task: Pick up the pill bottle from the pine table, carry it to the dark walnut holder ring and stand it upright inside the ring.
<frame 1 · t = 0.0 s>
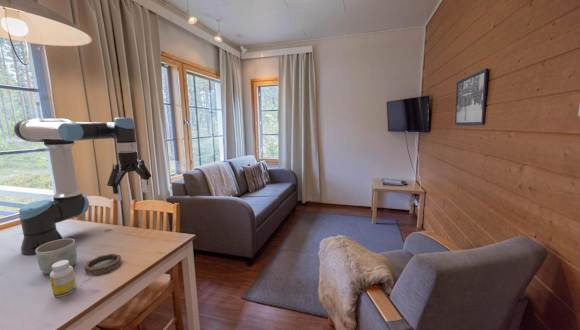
hand: (132, 196, 116), 28 cm above the table, fingers open, 13 cm apart
holder: (103, 266, 107), on the table
planter: (60, 268, 106), on the table
pill bottle: (65, 292, 92), on the table
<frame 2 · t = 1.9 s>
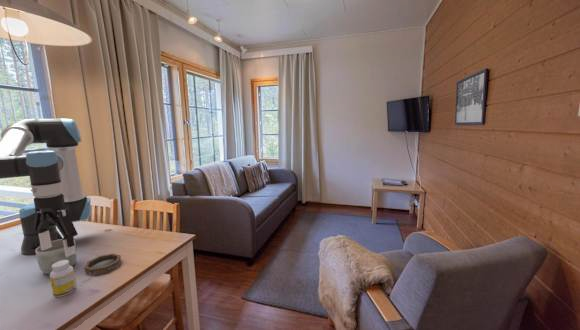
hand: (58, 251, 89), 16 cm above the table, fingers open, 13 cm apart
nothing on the table moved.
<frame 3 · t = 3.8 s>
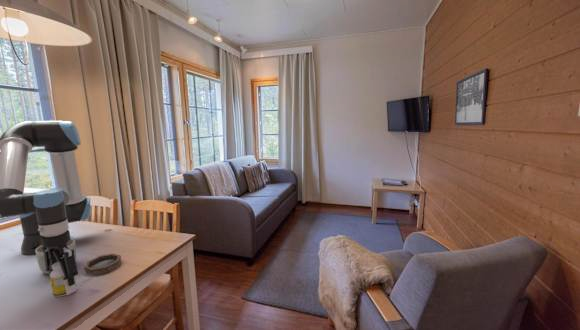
hand: (65, 290, 92), 0 cm above the table, fingers closed on pill bottle, 6 cm apart
pill bottle: (65, 292, 92), on the table, touching gripper
everything else where it was.
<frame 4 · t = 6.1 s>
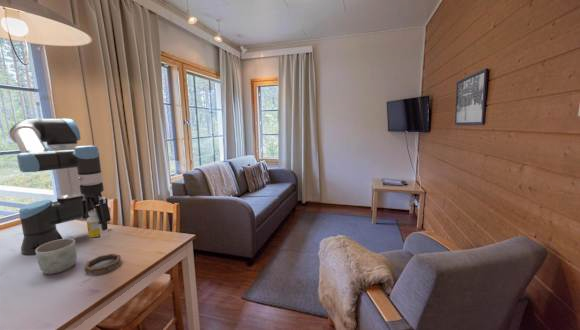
hand: (98, 235, 105), 15 cm above the table, fingers closed on pill bottle, 6 cm apart
pill bottle: (98, 237, 105), point 14 cm above the table, touching gripper
everything else where it was.
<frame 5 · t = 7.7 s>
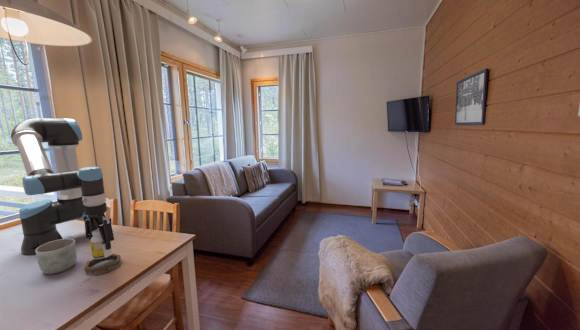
hand: (102, 254, 106), 6 cm above the table, fingers closed on pill bottle, 6 cm apart
pill bottle: (102, 256, 107), point 5 cm above the table, touching gripper
everything else where it was.
when the fingers open (3 cm above the table, at t = 8.6 s): pill bottle drops 2 cm, resting on holder.
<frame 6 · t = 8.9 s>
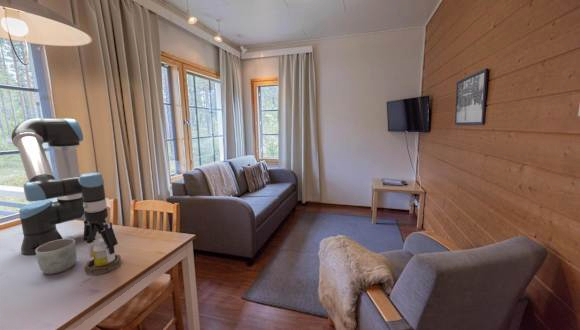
hand: (102, 258, 107), 4 cm above the table, fingers open, 10 cm apart
pill bottle: (104, 265, 107), point 1 cm above the table, touching holder
everything else where it was.
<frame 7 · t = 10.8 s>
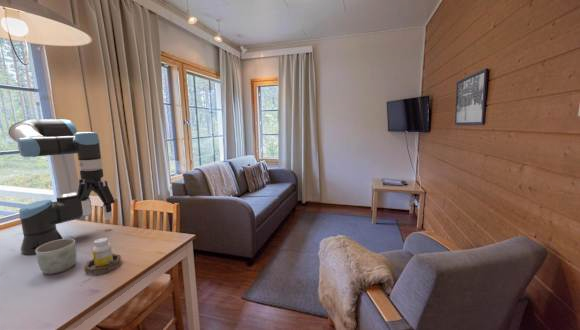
hand: (97, 216, 107), 22 cm above the table, fingers open, 13 cm apart
nothing on the table moved.
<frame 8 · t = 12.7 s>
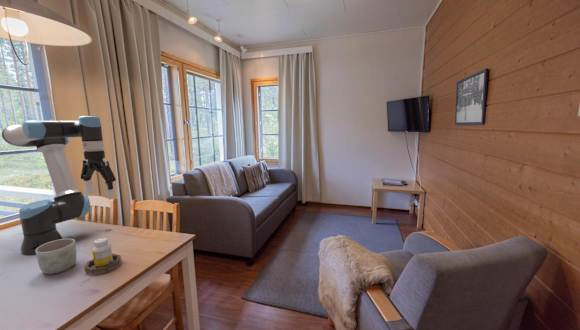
hand: (100, 195, 116), 29 cm above the table, fingers open, 13 cm apart
nothing on the table moved.
at the end: pill bottle 0.3 cm off-centre on the holder, point 0.6 cm above the holder's base; pill bottle tilted 1°; the gripper is holding nothing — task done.
